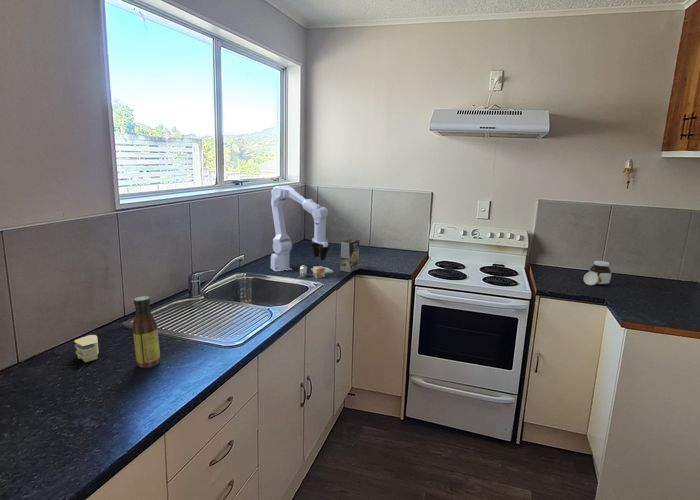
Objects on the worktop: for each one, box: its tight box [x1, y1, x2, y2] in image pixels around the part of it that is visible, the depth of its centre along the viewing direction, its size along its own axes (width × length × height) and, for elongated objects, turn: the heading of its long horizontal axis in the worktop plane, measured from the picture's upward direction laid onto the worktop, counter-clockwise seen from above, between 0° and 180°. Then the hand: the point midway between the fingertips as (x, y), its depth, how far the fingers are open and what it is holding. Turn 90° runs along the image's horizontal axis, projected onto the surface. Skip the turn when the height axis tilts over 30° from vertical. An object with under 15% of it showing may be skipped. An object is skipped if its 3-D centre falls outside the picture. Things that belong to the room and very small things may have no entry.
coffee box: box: [339, 238, 360, 273], centre depth 233 cm, size 9×6×16 cm
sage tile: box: [310, 266, 335, 274], centre depth 230 cm, size 9×9×1 cm
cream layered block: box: [74, 334, 100, 363], centre depth 127 cm, size 10×9×6 cm
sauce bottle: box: [132, 295, 161, 369], centre depth 122 cm, size 6×6×20 cm
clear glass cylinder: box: [299, 265, 308, 278], centre depth 218 cm, size 4×4×5 cm
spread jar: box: [583, 260, 612, 287], centre depth 223 cm, size 12×11×12 cm
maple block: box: [312, 265, 326, 279], centre depth 219 cm, size 4×4×5 cm
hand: (319, 258), depth 218 cm, fingers open, 7 cm apart
